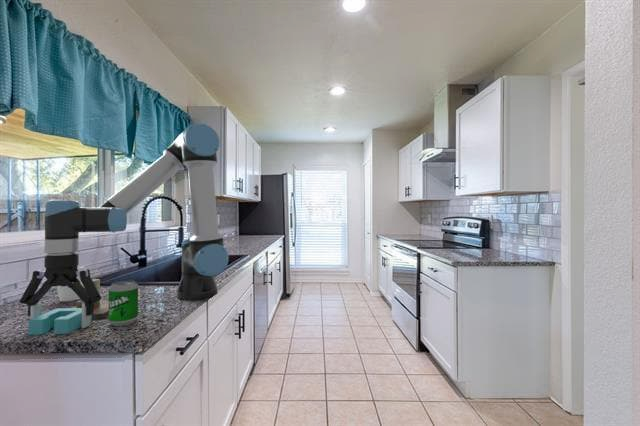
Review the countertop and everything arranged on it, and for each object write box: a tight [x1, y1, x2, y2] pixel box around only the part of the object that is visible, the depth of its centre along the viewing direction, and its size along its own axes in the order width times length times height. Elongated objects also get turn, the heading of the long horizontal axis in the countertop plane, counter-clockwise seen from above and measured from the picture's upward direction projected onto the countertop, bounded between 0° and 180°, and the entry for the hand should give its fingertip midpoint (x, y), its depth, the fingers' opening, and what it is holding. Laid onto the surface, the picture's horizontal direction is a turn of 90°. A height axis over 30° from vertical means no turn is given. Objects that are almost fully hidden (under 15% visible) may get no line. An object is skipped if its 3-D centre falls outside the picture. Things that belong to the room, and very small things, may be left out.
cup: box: [56, 265, 86, 303], centre depth 117 cm, size 9×9×12 cm
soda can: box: [107, 280, 139, 327], centre depth 93 cm, size 8×8×12 cm
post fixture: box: [71, 278, 108, 320], centre depth 103 cm, size 14×14×10 cm
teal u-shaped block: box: [28, 307, 93, 336], centre depth 89 cm, size 10×10×4 cm
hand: (61, 327), depth 89 cm, fingers open, 13 cm apart
